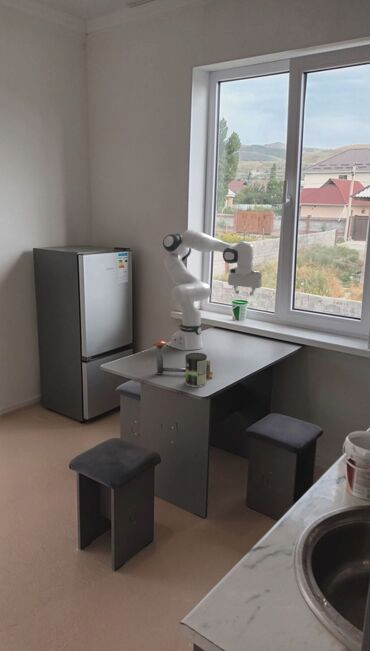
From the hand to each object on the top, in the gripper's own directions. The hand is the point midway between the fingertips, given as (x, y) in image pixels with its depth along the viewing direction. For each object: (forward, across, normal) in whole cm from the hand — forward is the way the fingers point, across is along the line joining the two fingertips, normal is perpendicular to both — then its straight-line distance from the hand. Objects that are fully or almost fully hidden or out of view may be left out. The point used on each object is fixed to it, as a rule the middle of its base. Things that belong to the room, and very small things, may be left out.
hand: (244, 294), depth 286 cm
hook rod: (+34, +8, +56) cm, 66 cm away
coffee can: (+34, -8, +60) cm, 70 cm away
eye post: (+34, -6, +48) cm, 60 cm away
